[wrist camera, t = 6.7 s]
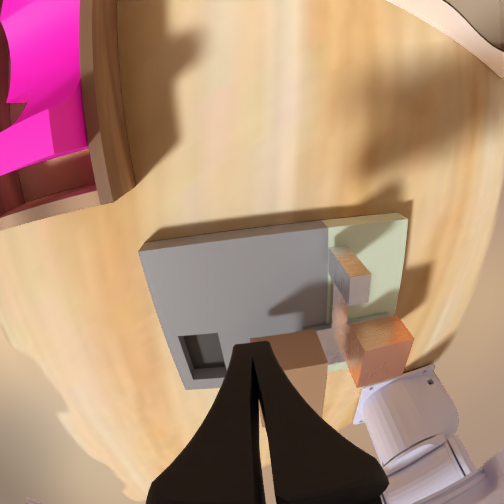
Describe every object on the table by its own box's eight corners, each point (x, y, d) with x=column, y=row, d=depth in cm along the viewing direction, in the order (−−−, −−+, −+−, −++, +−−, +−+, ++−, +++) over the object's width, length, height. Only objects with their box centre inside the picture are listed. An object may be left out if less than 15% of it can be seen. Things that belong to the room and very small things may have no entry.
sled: (404, 233, 18) (440, 261, 14) (385, 346, 23) (406, 382, 19) (299, 246, 18) (318, 282, 14) (301, 364, 23) (313, 406, 19)
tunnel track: (397, 212, 19) (451, 248, 13) (378, 348, 25) (406, 398, 19) (144, 242, 19) (112, 293, 13) (187, 377, 25) (180, 436, 19)
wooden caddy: (119, -56, 9) (101, -81, 6) (135, 186, 17) (113, 202, 14) (7, 0, 9) (-20, -10, 5) (20, 214, 17) (-10, 233, 14)
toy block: (38, -8, 10) (-16, -33, 3) (108, -40, 10) (66, -86, 3) (43, 162, 16) (-27, 188, 9) (116, 140, 16) (54, 154, 9)
